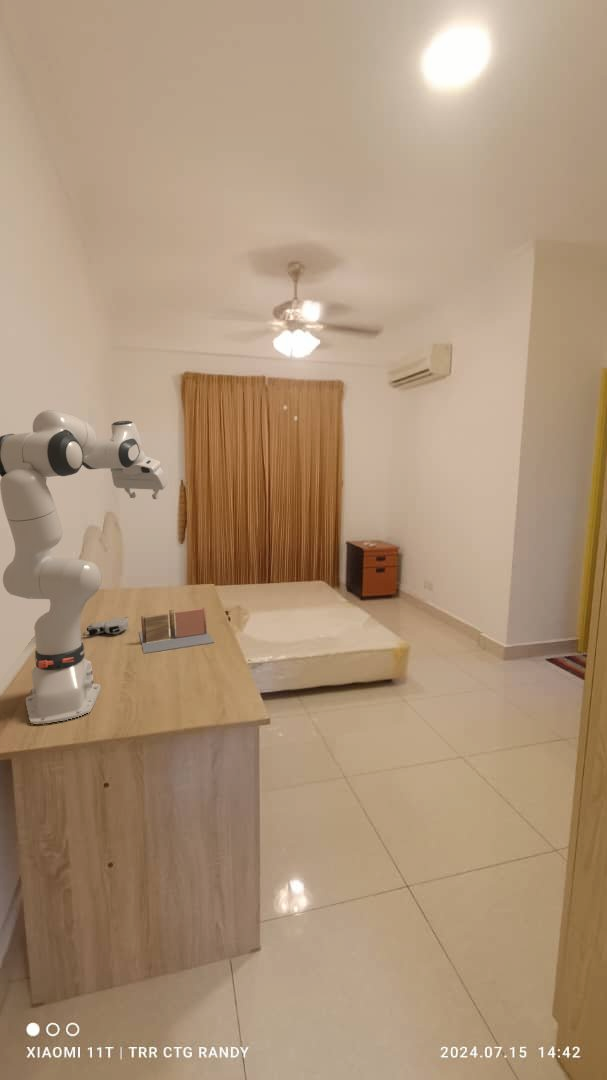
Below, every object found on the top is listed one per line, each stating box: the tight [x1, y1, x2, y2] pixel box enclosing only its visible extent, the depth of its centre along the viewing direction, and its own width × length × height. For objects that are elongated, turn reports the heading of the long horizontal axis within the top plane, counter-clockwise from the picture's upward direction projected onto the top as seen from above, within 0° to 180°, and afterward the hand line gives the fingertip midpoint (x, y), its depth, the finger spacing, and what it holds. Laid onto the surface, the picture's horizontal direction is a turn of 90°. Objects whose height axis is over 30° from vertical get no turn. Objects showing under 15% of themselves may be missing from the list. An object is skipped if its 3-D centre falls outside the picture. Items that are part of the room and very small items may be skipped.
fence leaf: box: [174, 607, 208, 638], centre depth 177 cm, size 1×11×10 cm, turn 113°
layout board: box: [138, 627, 215, 655], centre depth 176 cm, size 22×24×1 cm
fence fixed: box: [140, 609, 176, 643], centre depth 172 cm, size 2×11×11 cm, turn 113°
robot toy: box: [83, 616, 129, 636], centre depth 183 cm, size 12×4×15 cm
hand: (144, 497), depth 179 cm, fingers open, 8 cm apart
